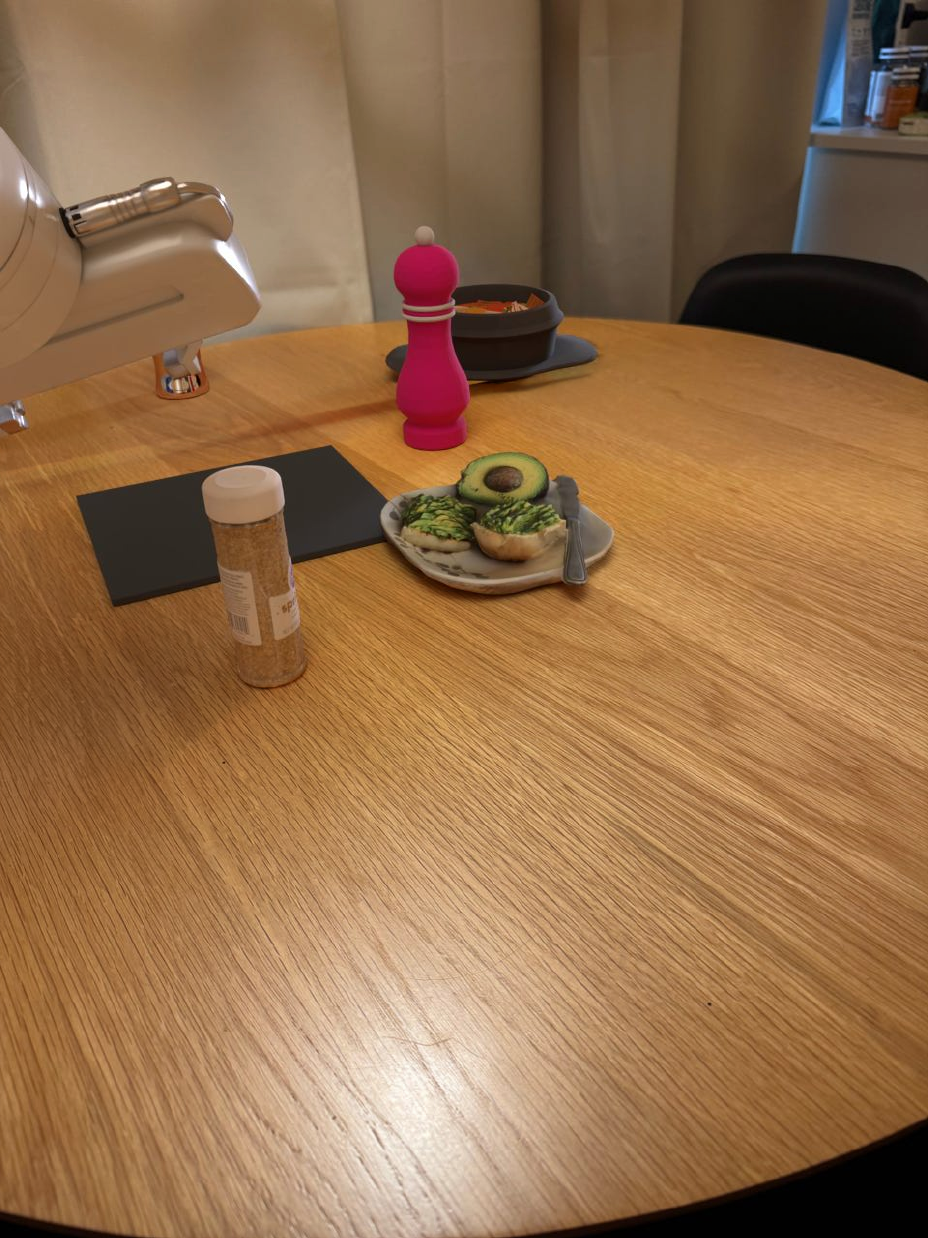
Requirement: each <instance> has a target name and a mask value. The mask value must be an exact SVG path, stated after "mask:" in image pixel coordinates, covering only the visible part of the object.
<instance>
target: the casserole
mask: <svg viewBox="0 0 928 1238" xmlns="http://www.w3.org/2000/svg"><path fill="white" fill-rule="evenodd" d="M451 298H453V299H454V300H455V304H454V310H455V315H454V316H453V317H451V337H452V343H453V347H454V351H455V354H456V356H457V358H458V361H459V363H460V365H461V367H462V369H463V371H464V373H465V376H466V379H467V381H481V382H478V385H479V384H481V385H482V384H483V385H490V384H506V383H507V384H508V383H512V382H518V381H521V380H525V379H529V378H532V377H535V376H537V375H541V374H546V373H549V372H552V371H557V370H562V369H566V368H572V367H579V366H584V365H586V364H589V363H591V362H593V361H594V359H596V358H597V355H598V350H597V348H596V346H594V345H593V344H592V343H590V341H588V340H586V339H584V338H582V337H579V336H576V335H573V334H559V333H558V328H559V326H560V324H561V323H562V322H563V321H564V319H565V315H564V312H563V311H562V310H561V309H560V308H559V306H558V303H557V299H556V296H555V295H554V294H553V293H552V292H550V291H548V290H545V289H542V288H539V287H534V286H529V285H521V284H511V283H510V284H509V283H487V284H486V283H485V284H471V285H463V286H457V287H456V289H455V290H454V291H453V293H452V295H451ZM407 349H408V343H405V344H402V345H398V346H396V347H394V348H393V349H391V351H389V352H388V354H387V355H386V356H385V359H384V362H385V364H386V367H388V368H389V369H390V370H391V371H394V372H396V373H398V374H400V373H401V370H402V367H403V365H404V362H405V358H406V355H407Z"/></svg>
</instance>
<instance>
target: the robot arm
mask: <svg viewBox="0 0 928 1238" xmlns="http://www.w3.org/2000/svg"><path fill="white" fill-rule="evenodd" d="M224 196H225V195H223V194H222V193H221V192H220V190H219V189H218V187H217V186H216V185H214V184H213V183H212V182H209V181H202V182H198V181H183V182H180V181H176V180H175V178H174V177H172V176H163V177H158V178H153V179H150V180H147V181H145V182H142V183H140V184H139V185H138V186H136V187H133V188H129V189H126V190H123V191H120V192H117V193H111V194H109V195H108V194H106V195H102V196H98V197H96V198H92V199H89V200H85V201H82V202H79V203H77V204H73V205H69V206H67V207H63V205H62V204H61V203H60V202H59V200H58V199H57V197H56V196H55V195H54V193H52V191H51V190H50V189H49V187H48V186H47V185H46V183H45V182H44V181H43V179H42V178H41V176H40V175H39V174H38V173H37V171H36V170H35V169H34V168H33V166H32V165H31V164H30V162H29V161H28V160H27V159H26V157H25V156H24V154H23V153H22V152H21V151H20V149H19V148H18V146H16V144H15V143H14V141H13V140H12V139H11V138H10V137H9V135H8V134H7V133H6V131H5V130H4V129H3V128H2V127H1V126H0V439H3V438H6V437H8V436H12V435H14V434H17V433H21V432H23V431H25V430H29V428H30V424H29V420H28V419H27V418H25V415H26V409H25V406H24V404H23V402H22V401H21V400H24V399H26V398H29V397H32V396H36V395H38V394H42V393H45V392H48V391H51V390H54V389H57V388H59V387H63V386H66V385H69V384H72V383H75V382H78V381H81V380H85V379H88V378H91V377H93V376H96V375H99V374H104V373H106V372H108V371H111V370H115V369H118V368H122V367H124V366H128V365H130V364H133V363H137V362H139V361H142V360H145V359H149V358H151V357H152V356H154V355H158V354H161V353H162V362H163V365H164V368H165V370H166V371H167V373H168V374H169V375H171V376H172V379H173V380H178V379H181V378H184V377H187V376H191V375H194V374H197V373H200V372H201V369H200V365H199V362H198V359H197V353H198V351H199V349H200V350H201V347H202V345H203V343H204V340H206V339H209V338H213V337H215V336H219V335H221V334H224V333H227V332H230V331H233V330H237V329H239V328H242V327H245V326H247V325H249V324H252V323H253V321H254V320H255V319H256V317H257V316H258V314H259V313H260V311H261V310H262V306H263V301H262V297H261V294H260V290H259V286H258V284H257V280H256V277H255V274H254V271H253V269H252V266H251V263H250V260H249V257H248V254H247V252H246V250H245V248H244V245H243V244H242V242H241V241H240V239H239V237H238V236H237V234H236V233H235V231H234V215H233V212H232V211H231V209H230V206H229V205H228V202H227V200H226V198H225V197H224Z"/></svg>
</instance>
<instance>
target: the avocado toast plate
mask: <svg viewBox="0 0 928 1238" xmlns="http://www.w3.org/2000/svg"><path fill="white" fill-rule="evenodd" d="M460 476H461V477H460V479H458V480H457V482H456V483H453V484H447V485H439V486H438V485H437V486H434V487H426V488H419V489H414V490H410V491H407V492H403V493H400V494H398V495H395V496H393V497H392V498H390V499H388V502H387V503H386V504H385V506H384V507H383V509H382V510H381V512H380V524H381V529H382V532H383V534H384V536H385V538H386V540H387V541H386V542H388V543H389V544H390V545H392V546H393V547H395V548H396V549H397V550H399V552H401V554H402V556H404V558H405V559H406V560H407V562H409V563H410V564H412V565H413V566H414V567H416V568H417V569H419V570H420V571H421V572H423V574H424V575H425V576H427V577H429V578H431V579H433V580H435V581H438V582H440V583H442V584H445V585H446V586H448V587H451V588H453V589H456V590H462V591H467V592H472V593H478V594H483V595H484V594H485V595H509V594H515V593H519V592H522V591H526V590H530V589H533V588H536V587H541V586H545V585H551V584H557V583H562V582H563V583H564V584H566V585H568V586H575V587H582V586H585V585H586V584H588V582H589V578H588V577H589V576H588V570H587V568H588V567H591V566H592V565H593V564H595V563H596V562H598V561H600V560H602V559H603V558H604V557H605V556H606V554H607V552H609V550H610V548H611V547H612V545H613V542H614V539H615V538H614V537H615V532H614V529H613V527H611V525H609V524H608V522H607V521H605V520H604V519H603V518H601V517H600V516H599V515H597V514H596V513H594V512H593V511H592V510H591V509H589V508H588V507H587V506H586V505H584V504H583V503H581V502H580V498H579V496H578V495H579V494H580V490H579V486H578V484H577V481H576V480H575V478H573V477H572V476H567V475H564V474H558V475H556V477H555V478H554V479H550V474H549V473H548V469H547V467H546V466H545V465H544V463H542V462H541V461H540V460H539V459H538V458H537V457H535V456H533V455H530V454H527V453H523V452H515V451H505V452H503V451H502V452H497V453H496V452H495V453H492V454H491V453H490V454H488V455H484V456H480V457H478V458H476V459H474V460H472V461H470V462H469V463H467V465H466V467H465V468H464V469H462V470H460Z"/></svg>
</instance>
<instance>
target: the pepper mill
mask: <svg viewBox="0 0 928 1238" xmlns="http://www.w3.org/2000/svg"><path fill="white" fill-rule="evenodd" d="M434 241H435V233H434V231H433V229H432V228H431V227H430V226H427V225H422V226H419V227H418V228H417V229H416V230H415V232H414V242H415V243H416V244H414V245H412V246H410V247H408V248H405V249H404V250H403V251H402V252H401V253H400V254H399V255H398V257H397V259H396V261H395V263H394V267H393V282H394V285H395V288H396V290H397V291H398V292H399V294H401V296H402V297H403V300H401V302H400V306H401V309H402V312H401V318H403V319H404V320H406V327H407V344H408V349H407V355H406V358H405V362H404V365H403V367H402V370H401V373H399V376H398V379H397V382H396V388H395V403H396V406H397V408H398V410H399V411H400V412H401V414H402V415H403V416H404V417H406V419H405V420H404V421H403V423H402V433H403V442H404V443H405V444H406V445H407V446H409V447H411V448H413V449H417V450H422V451H441V450H442V451H443V450H447V449H452V448H456V447H458V446H459V445H461V444H463V443H464V442H465V441H466V439H467V421H466V419H465V418H464V417H463V416H462V414H463V413H464V412H466V410H467V408H468V407H469V404H470V401H471V394H470V393H471V392H470V385H469V383H468V380H467V379H466V376H465V373H464V371H463V369H462V367H461V365H460V363H459V361H458V358H457V356H456V354H455V351H454V347H453V343H452V337H451V317H453V316H454V315H455V310H454V304H455V300H454V299H453V298H451V295H452V293H453V291H454V290H455V289H456V288H457V287H458V285H459V283H460V268H459V264H458V261H457V259H456V257H455V256H454V255H453V253H452V252H451V251H450V250H448V249H447V248H446V247H444V246H442V245H438V244H435V243H434Z"/></svg>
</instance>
